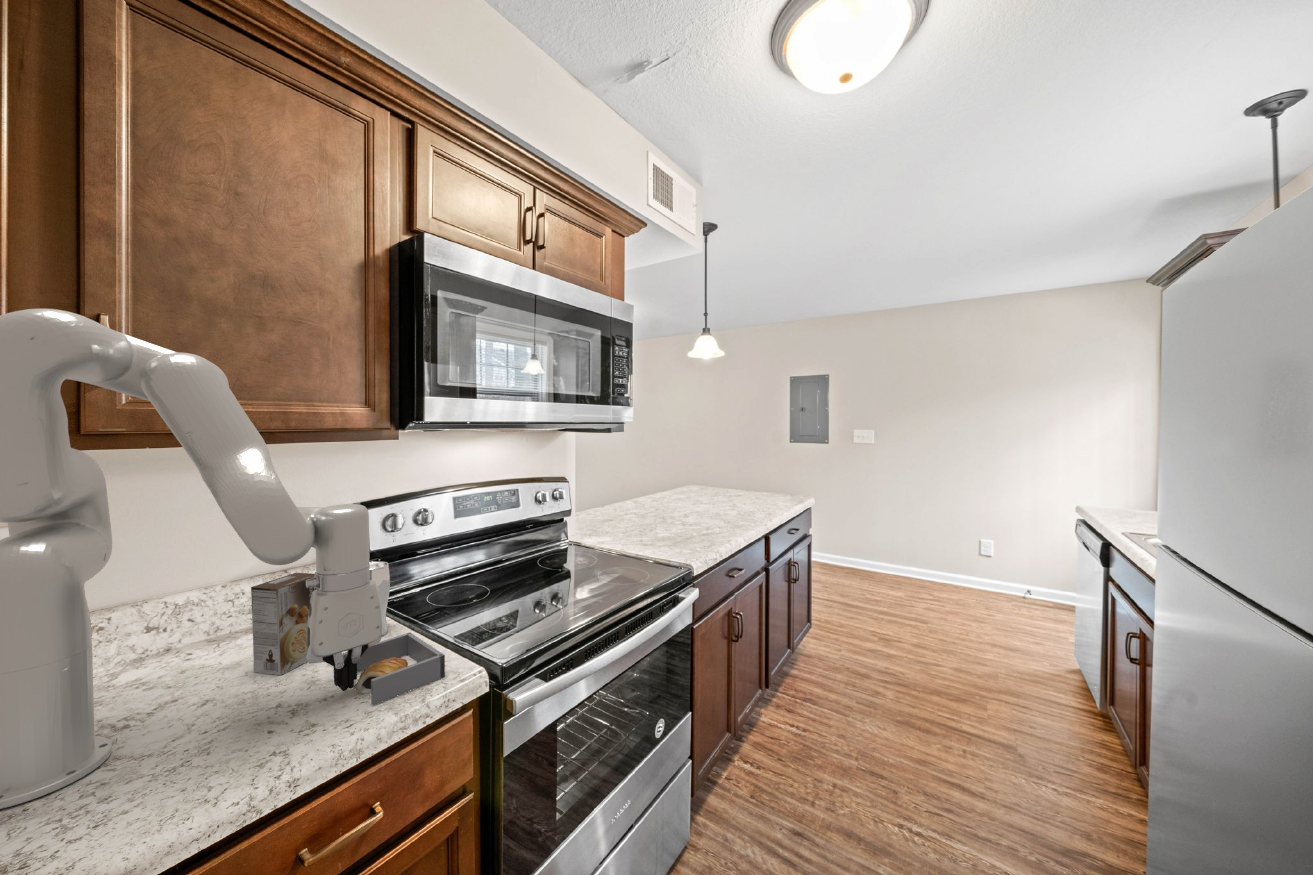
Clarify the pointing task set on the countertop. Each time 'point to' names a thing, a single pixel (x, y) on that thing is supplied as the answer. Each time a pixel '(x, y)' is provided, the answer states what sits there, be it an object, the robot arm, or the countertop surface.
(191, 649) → the countertop surface
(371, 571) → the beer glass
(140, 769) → the countertop surface
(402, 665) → the pastry
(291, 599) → the coffee box
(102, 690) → the countertop surface
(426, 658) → the box
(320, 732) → the countertop surface
